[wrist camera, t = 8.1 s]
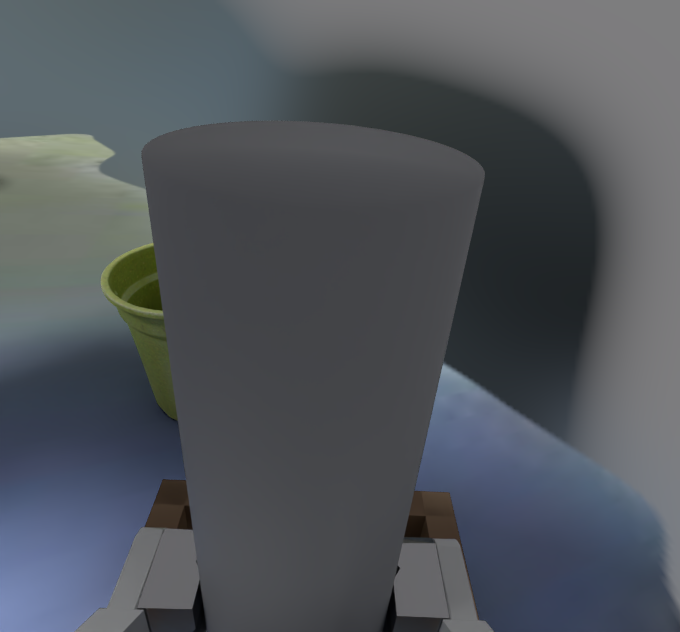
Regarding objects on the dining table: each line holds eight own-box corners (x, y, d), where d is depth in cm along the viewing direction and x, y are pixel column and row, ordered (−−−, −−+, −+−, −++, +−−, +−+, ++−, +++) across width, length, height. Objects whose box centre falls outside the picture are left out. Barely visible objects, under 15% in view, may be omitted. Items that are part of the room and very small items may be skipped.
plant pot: (100, 444, 27) (65, 307, 22) (155, 345, 35) (137, 231, 30) (271, 451, 27) (271, 319, 23) (286, 353, 35) (288, 240, 31)
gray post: (192, 635, 18) (98, 83, 9) (402, 642, 19) (544, 117, 9) (106, 997, 12) (-827, 332, 2) (438, 1000, 12) (1221, 438, 2)
